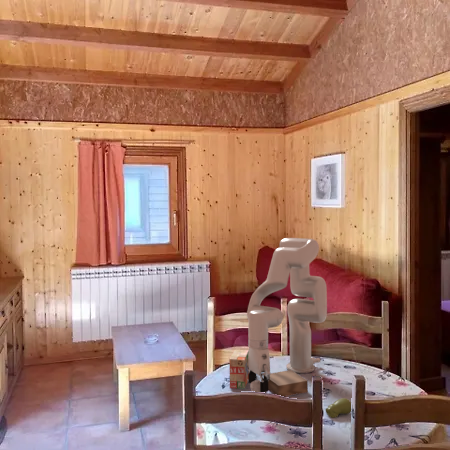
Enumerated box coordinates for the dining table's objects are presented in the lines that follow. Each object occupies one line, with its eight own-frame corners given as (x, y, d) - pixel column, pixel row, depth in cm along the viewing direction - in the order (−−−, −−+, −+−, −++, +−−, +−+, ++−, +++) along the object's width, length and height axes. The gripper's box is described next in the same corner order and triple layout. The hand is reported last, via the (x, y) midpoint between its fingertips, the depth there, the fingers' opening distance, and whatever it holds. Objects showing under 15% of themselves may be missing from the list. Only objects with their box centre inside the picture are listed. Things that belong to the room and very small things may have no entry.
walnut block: (291, 381, 203) (291, 369, 202) (307, 393, 191) (307, 380, 190) (263, 386, 198) (263, 374, 197) (278, 398, 186) (278, 385, 185)
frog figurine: (256, 393, 189) (256, 376, 189) (271, 398, 185) (270, 380, 185) (246, 398, 185) (246, 381, 184) (261, 403, 180) (261, 385, 180)
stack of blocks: (238, 369, 217) (238, 342, 216) (252, 370, 215) (252, 343, 215) (229, 388, 196) (229, 358, 195) (244, 389, 194) (244, 359, 194)
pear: (354, 399, 169) (330, 409, 166) (356, 413, 170) (332, 423, 166) (345, 393, 174) (321, 402, 171) (347, 407, 175) (323, 416, 172)
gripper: (278, 348, 177) (278, 393, 178) (256, 336, 193) (256, 378, 194) (260, 350, 174) (259, 397, 175) (239, 338, 190) (239, 381, 191)
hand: (258, 387), depth 184 cm, fingers open, 9 cm apart
